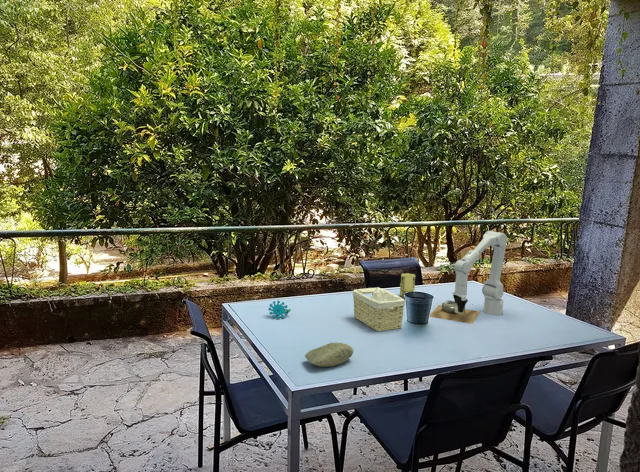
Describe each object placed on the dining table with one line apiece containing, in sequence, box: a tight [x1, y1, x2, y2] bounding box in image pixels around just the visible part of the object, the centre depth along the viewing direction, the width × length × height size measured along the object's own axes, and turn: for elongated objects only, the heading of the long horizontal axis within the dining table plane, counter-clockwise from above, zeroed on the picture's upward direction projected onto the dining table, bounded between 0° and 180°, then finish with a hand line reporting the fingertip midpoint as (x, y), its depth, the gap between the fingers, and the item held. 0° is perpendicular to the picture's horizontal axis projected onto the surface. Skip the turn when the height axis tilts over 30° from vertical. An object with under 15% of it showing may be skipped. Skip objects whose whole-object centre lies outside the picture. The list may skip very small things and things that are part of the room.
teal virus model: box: [268, 300, 292, 320], centre depth 257 cm, size 11×6×10 cm
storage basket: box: [352, 286, 406, 332], centre depth 251 cm, size 24×16×15 cm
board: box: [428, 304, 482, 325], centre depth 270 cm, size 22×24×1 cm
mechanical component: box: [399, 272, 416, 298], centre depth 299 cm, size 8×17×20 cm, turn 174°
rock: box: [304, 342, 354, 368], centre depth 201 cm, size 8×11×20 cm
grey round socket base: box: [441, 299, 466, 314], centre depth 274 cm, size 12×12×4 cm
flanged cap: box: [455, 303, 464, 314], centre depth 262 cm, size 5×5×4 cm
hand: (459, 310), depth 262 cm, fingers closed on flanged cap, 5 cm apart
